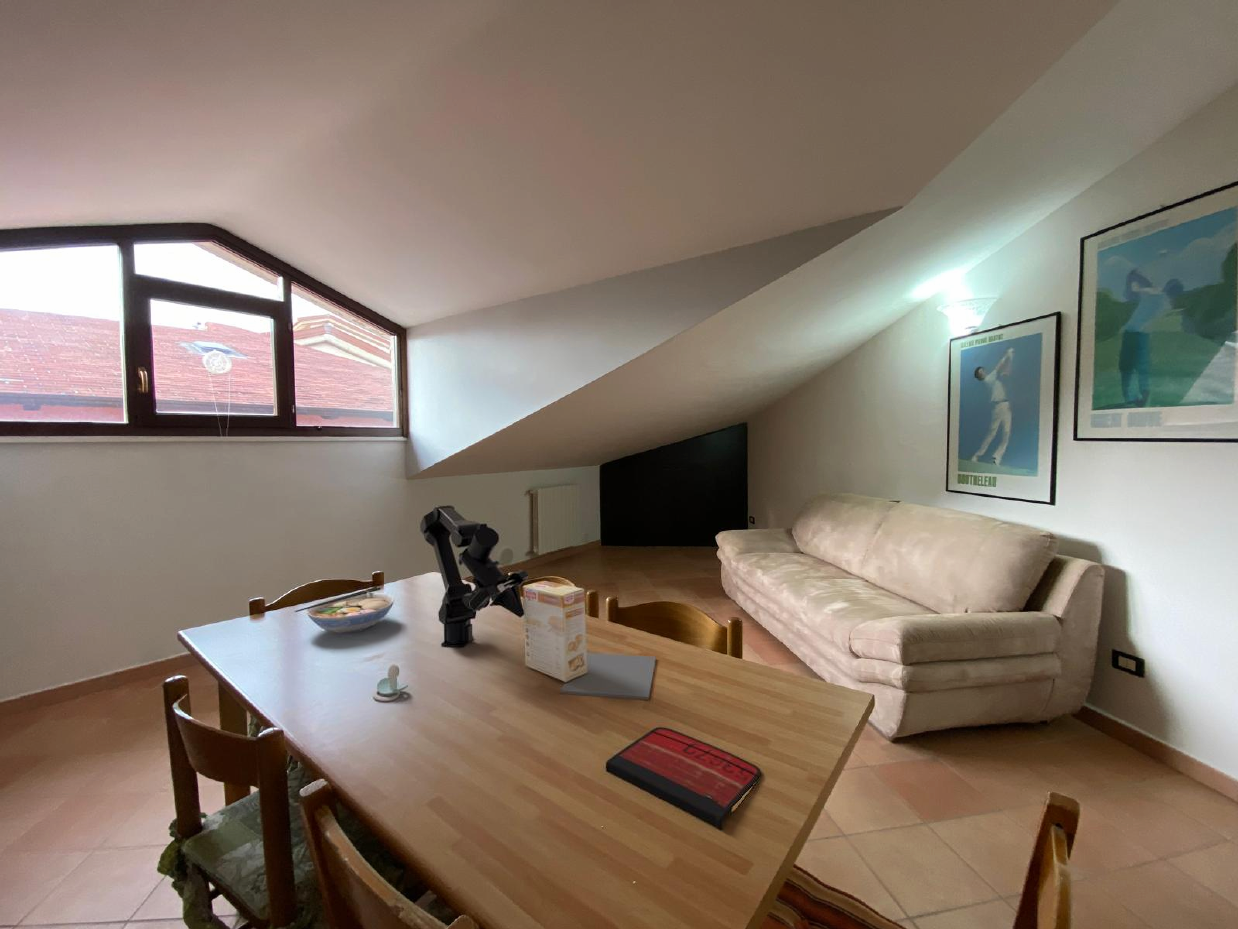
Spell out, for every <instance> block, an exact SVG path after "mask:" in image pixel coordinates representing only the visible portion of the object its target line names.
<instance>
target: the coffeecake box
mask: <svg viewBox="0 0 1238 929" xmlns="http://www.w3.org/2000/svg"><path fill="white" fill-rule="evenodd" d="M585 596H586V595H585V588H581V587H576V586H572V585H566V584H561V583H557V582H553V581H552V582H551V581H547V580H541V581H537V582H533V583H530V584H525V585H523V586H522V602H523V603H522V606H523V610H524V615H523V630H524V631H523V632H524V659H525V665H524V666H525V667H528V668H531V669H533V670H536V671H538V672H540V673H543V674H545V675H547V676H550V677H552V678H555V679H558V680H560V681H562V682H564V683H565V682H567V681H569V680H571V679H573V678H576V677H578V676H581V675H583V674H585V673H587V653H588V651H587V631H586V630H587V627H586V601H585V600H586V598H585Z"/></svg>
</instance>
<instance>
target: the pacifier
mask: <svg viewBox="0 0 1238 929" xmlns="http://www.w3.org/2000/svg"><path fill="white" fill-rule="evenodd" d="M398 676H400V667H399V666H398V665H397V664H395V663H394V664H391V665H389V667H388V670H387V677H384V678H382V679H380V680H379V681H378V682H377V686H376V690H375V691H374V692H373V693H372V698H373V699H375V700H376V701H378V702H390V701H393V700H396V699H397V698H398V697H399V695H400V694H401V693H400V692H402V691H403V690H405V689H407V688H408V687H409V685H408V684H407V685H406V684H404V685H400V683H399V682H398V680H397V679H398ZM380 694H382V695H385V696H380ZM388 696H389V697H388Z"/></svg>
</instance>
